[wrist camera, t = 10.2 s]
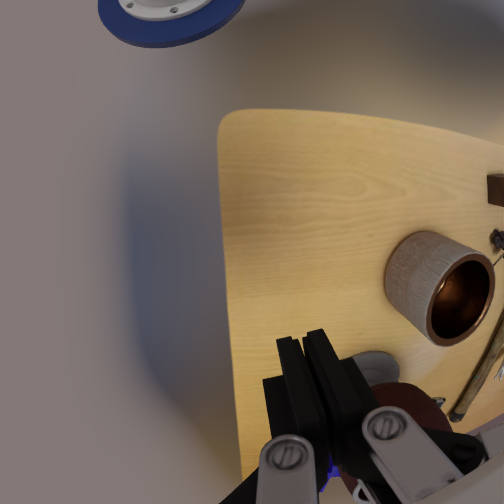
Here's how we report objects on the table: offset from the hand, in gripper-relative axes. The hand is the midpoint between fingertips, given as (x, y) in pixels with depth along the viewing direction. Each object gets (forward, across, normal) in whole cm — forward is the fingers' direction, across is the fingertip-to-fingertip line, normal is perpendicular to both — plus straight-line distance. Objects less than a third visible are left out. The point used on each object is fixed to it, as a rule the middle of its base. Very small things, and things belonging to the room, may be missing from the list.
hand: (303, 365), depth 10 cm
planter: (+22, -19, +10) cm, 31 cm away
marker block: (+22, -35, +1) cm, 41 cm away
